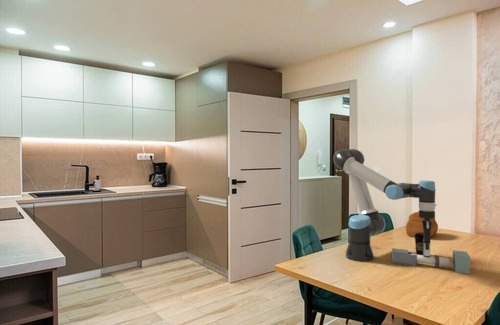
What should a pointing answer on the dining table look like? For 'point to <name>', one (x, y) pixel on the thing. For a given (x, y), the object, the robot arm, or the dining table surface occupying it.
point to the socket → (461, 262)
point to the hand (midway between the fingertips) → (426, 254)
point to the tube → (432, 259)
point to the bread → (419, 225)
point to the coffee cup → (419, 243)
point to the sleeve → (404, 257)
